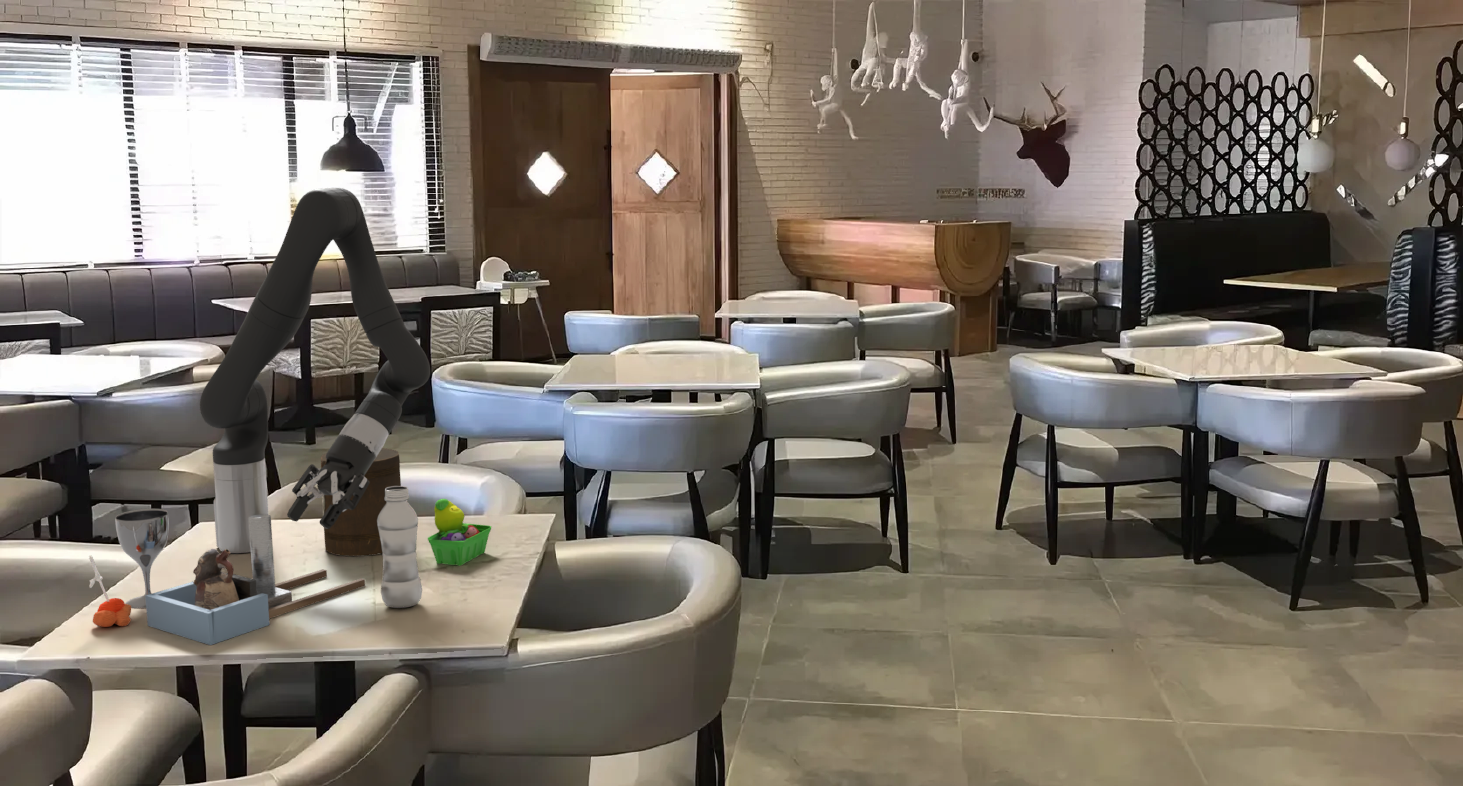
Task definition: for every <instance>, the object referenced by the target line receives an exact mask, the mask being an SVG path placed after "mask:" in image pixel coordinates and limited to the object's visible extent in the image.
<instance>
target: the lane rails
mask: <svg viewBox="0 0 1463 786" xmlns="http://www.w3.org/2000/svg"><path fill="white" fill-rule="evenodd" d="M327 577H328V574H327V570H326V569H319V570H316V571H312V572H310V573H307V574H303V575H300V576H297V577H294V578H291V579H287V580H284V581H280V582H278V583H275V587H276V588H280V589H284V590H289V589H293V588H295V587H298V586H302V585H305V584H308V583H312V582H315V581H318V580H320V579H323V578H327ZM365 586H366V579H364V578H358V579H356V580H352V581H349V582H346V583H343V584H339V585H336V586H333V587H331V588H328V589H325V590H322V591H318V592H316V593H315V592H314V593H313V594H310V595H307V596H304V597H300V598H298V599H294V600H292V601H291V602H288V603H285V604H282V605H279V606H276V607H273V608H270V609H269V619H272V618H275V617H279V616H280V615H283V614H286V613H287V614H288V613H290V612H293V611H295V610H298V609H302V608H304V607H307V606H310V605H313V604H316V603H320V602H321V601H325V600H328V599H331V598H334V597H337V596H340V595H342V594H346V593H348V592H351V591H354V590H358V589H361V588H363V587H365Z"/></svg>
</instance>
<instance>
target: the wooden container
mask: <svg viewBox="0 0 1463 786" xmlns="http://www.w3.org/2000/svg"><path fill="white" fill-rule="evenodd" d="M399 453H400V452H399V451H397V450H395V449H391V448H388V447H387V448H385V447H382V449H381V450H380V452H379V454H378V455H377V457H376V458H375V460H374V461H373V463H372V464H371V466H370V468H369V469H368V471H367V472H366V474H365V475H364V477H365V478H366V479H367V480H368V481H369V482H370V483H369V485H368V487H367V489H366V490H365V492H364V494H363V496H362V497H361V499H360V501H359V502H358V504H357V506H356V508H355V509H354V510H350V509H346V510H345V511H344V512H341V514H340V515H339V517H338V519H337V520H336V522H335V523H334V525H333V526H332V527H331V528H330V529H326V528H324V527H323V532H324V535H323V536H324V537H323V538H324V549H325V550H326V552H327V553H329V554H332V555H336V556H341V557H342V556H343V557H365V556H366V557H367V556H375V555H381V554H383V552H382V545H381V540H380V535H379V530H378V525H377V519H378V515H379V514H380V512H381V510H382V509H383V507H384V506H385V505H386V501H385V499H384V497H385V489H386V488H388V487H393V486H402V483H401V468H400V467H401V461H400V454H399ZM326 462H327V460H326V453H324V454H322V455H321V456H320V469H321V468H322V467H323V466H324V465H325V464H326ZM353 498H354V495H352V496H351V498H350V500H351V501H352V500H353ZM321 499H322V505H321V506H322V516H323V515H324V513H325V512H326V510H327V509H328V507H329V506H330V504H331V505H333V496H332V495H324V496H322V497H321Z"/></svg>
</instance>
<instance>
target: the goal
mask: <svg viewBox="0 0 1463 786" xmlns="http://www.w3.org/2000/svg"><path fill="white" fill-rule="evenodd" d="M193 582H194V580H193V581H190V582H187V583H183V584H180V585H176V586H174V587H170V588H166V589H164V590H163V589H162V590H160V591H157V592H153V593H152V592H151V593H152V594H149V595H145V594H144V595H145V598H146V608H145V609H146V619H147V627H150V628H154V629H157V630H161V631H163V632H166V633H170V634H173V635H177V636H179V637H183V638H186V639H188V640H192V641H194V642H198V643H202V644H206V645H208V646H212V645H215V644H219V643H222V642H224V641H226V640H229V639H232V638H234V637H238V636H242V635H244V634H247V633H249V632H253V631H255V630H258V629H261V628H264V627H267V626H270V618H269V609H268V595H267V594H264V593H262V594H259V595H256V596H252V597H249V598H246V599H243V600H240V601H237V602H234V603H230V604H227V605H224V606H221V607H218V608H215V609H212V610H208V609H205V608H201V607H198V606H195V593H196V589H197V586H196V585H195V584H193Z"/></svg>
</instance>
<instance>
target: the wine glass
mask: <svg viewBox="0 0 1463 786" xmlns="http://www.w3.org/2000/svg"><path fill="white" fill-rule="evenodd" d="M114 518H115V520H114V521H115V530H116V535H117V539H118V543H119V544H120V547H121V549H122V551H123V552H124V553H125V554H126V555H127V556H128V557H130V558H131V559H132V560H133V561H135V562H136V563H137V565H138V566H139V568H140V569H141V571H142V572H141V573H142V576H143V581H144V591H145V593H144V595H140V596H136V597H133V598H130V599H129V600H127V601H126V602H124V603H125V604H128V605H131V609H146V598H145V595H149V594H152V590H151V569H152V566H153V563H154V561H156V559H157V558H158V556H159V555H160V554H161V552H162V551H163V550H164V548H165V547H166V545H167V543H168V538H169V537H168V536H169V528H170V524H169V513H168V510H166V509H163V508H141V509H135V510H133V509H132V510H130V511H129V510H128V511H125V512H121V513H119V514H117V515H116V516H115V517H114Z"/></svg>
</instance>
